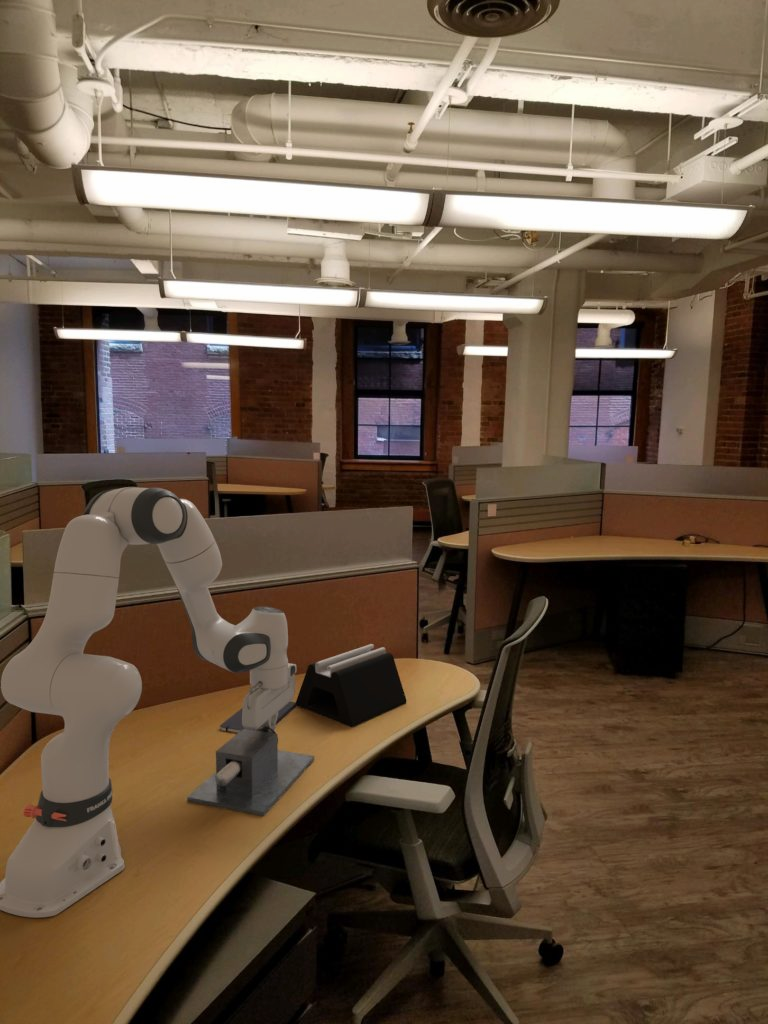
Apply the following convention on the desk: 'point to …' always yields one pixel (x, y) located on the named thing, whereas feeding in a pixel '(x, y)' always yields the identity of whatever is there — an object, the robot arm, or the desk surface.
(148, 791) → the desk surface
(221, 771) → the shaft
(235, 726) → the paper product
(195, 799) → the bearing housing
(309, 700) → the device stand
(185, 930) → the desk surface
